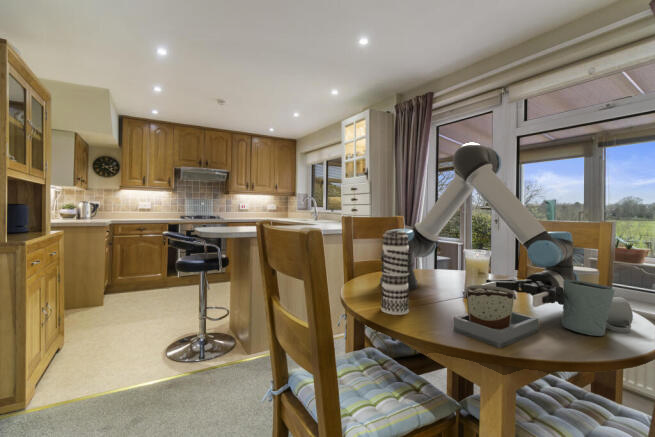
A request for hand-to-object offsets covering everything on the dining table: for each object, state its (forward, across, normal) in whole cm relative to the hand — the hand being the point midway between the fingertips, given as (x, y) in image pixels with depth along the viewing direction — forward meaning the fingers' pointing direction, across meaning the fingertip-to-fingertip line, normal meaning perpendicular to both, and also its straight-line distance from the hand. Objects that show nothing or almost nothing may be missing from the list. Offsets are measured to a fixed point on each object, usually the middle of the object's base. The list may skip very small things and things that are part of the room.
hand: (506, 294), depth 81 cm
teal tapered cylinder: (-16, -12, -9) cm, 21 cm away
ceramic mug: (-27, -14, -9) cm, 32 cm away
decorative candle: (+15, +26, -9) cm, 31 cm away
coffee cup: (-45, -1, -10) cm, 46 cm away
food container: (+5, +2, -8) cm, 10 cm away
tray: (+4, 0, -9) cm, 10 cm away
